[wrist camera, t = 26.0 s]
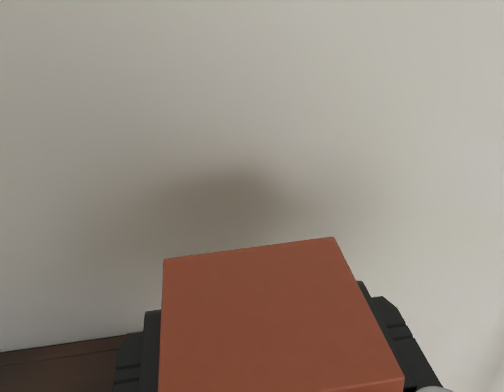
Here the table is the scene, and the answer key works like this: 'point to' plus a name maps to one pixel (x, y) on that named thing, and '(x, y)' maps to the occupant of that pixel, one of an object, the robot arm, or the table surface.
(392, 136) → the table surface
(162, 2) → the table surface
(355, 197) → the table surface
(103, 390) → the box
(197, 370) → the block
